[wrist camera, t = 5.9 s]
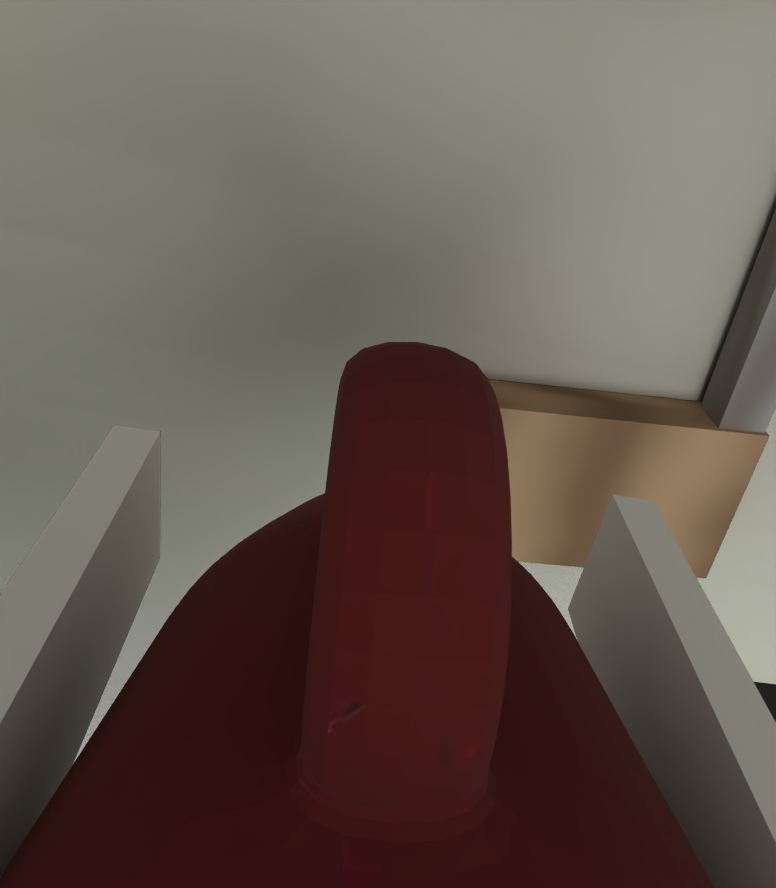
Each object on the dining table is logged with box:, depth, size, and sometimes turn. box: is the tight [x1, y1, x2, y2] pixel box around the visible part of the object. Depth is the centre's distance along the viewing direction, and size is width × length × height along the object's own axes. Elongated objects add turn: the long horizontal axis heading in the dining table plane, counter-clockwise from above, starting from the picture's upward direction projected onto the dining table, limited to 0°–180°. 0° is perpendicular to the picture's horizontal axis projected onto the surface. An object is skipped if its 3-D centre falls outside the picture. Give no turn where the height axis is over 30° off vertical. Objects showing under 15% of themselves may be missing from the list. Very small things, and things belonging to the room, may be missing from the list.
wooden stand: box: [488, 209, 776, 578], centre depth 19 cm, size 13×28×14 cm, turn 173°
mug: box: [0, 342, 713, 888], centre depth 9 cm, size 10×8×10 cm
